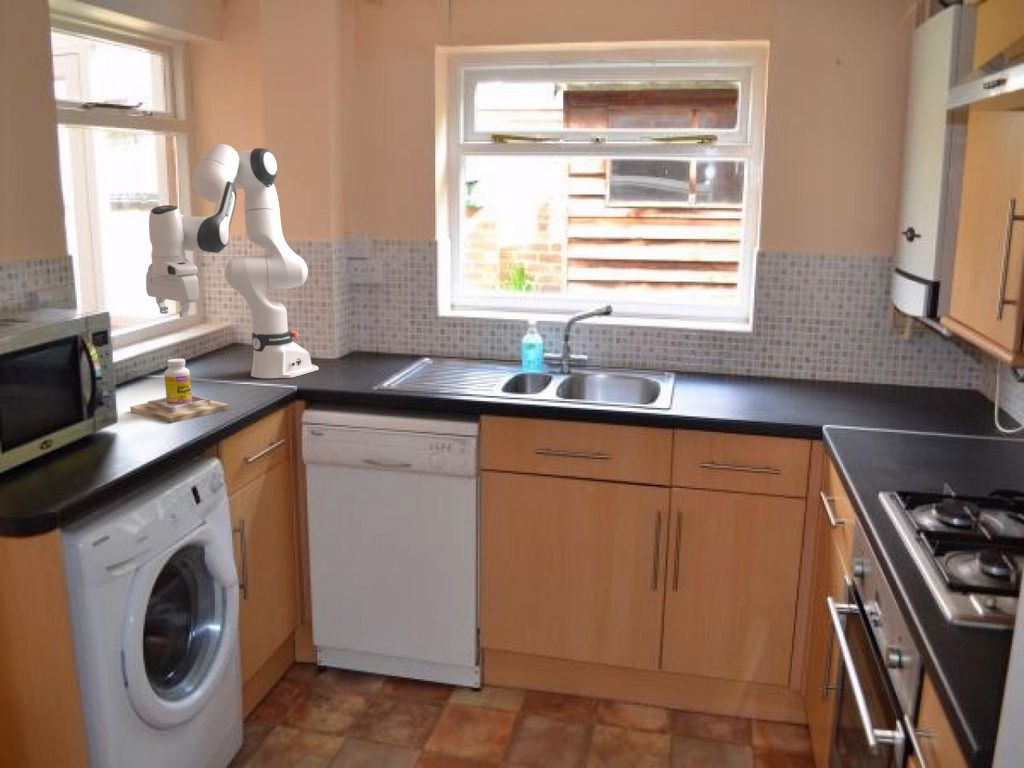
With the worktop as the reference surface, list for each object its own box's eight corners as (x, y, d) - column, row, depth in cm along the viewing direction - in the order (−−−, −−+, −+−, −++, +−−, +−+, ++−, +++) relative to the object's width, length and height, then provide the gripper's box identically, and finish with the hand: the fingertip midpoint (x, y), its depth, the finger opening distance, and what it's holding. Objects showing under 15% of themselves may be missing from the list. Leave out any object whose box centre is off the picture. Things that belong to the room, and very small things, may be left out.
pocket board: (187, 399, 271) (187, 389, 270) (229, 409, 259) (228, 399, 258) (130, 411, 257) (129, 401, 256) (171, 423, 245) (170, 412, 244)
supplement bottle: (177, 409, 253) (173, 363, 250) (162, 406, 257) (157, 360, 254) (197, 404, 259) (193, 359, 256) (181, 401, 262) (178, 356, 259)
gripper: (137, 264, 258) (142, 312, 262) (180, 270, 246) (185, 321, 250) (158, 261, 263) (162, 309, 267) (201, 267, 251) (205, 317, 255)
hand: (173, 315), depth 258 cm, fingers open, 8 cm apart
